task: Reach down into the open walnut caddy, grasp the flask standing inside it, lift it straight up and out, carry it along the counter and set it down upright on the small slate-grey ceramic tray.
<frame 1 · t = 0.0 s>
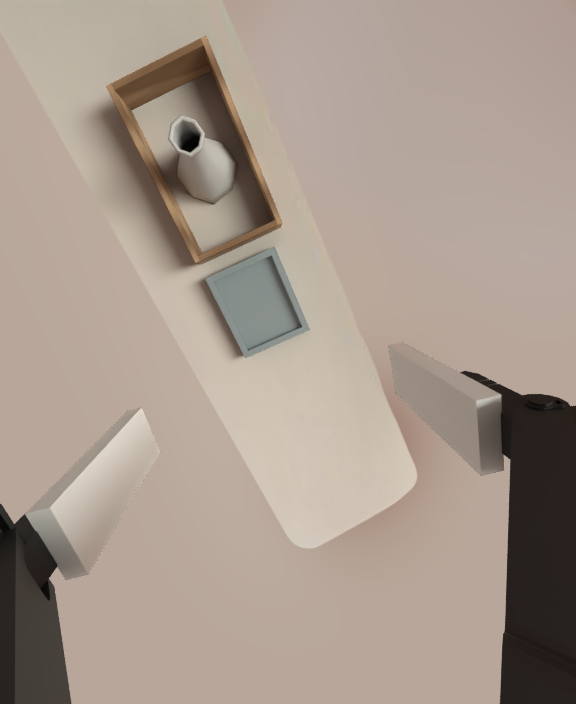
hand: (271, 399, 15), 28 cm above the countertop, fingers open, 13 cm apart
flask: (207, 171, 37), on the countertop
caddy: (207, 170, 37), on the countertop
tray: (259, 303, 42), on the countertop
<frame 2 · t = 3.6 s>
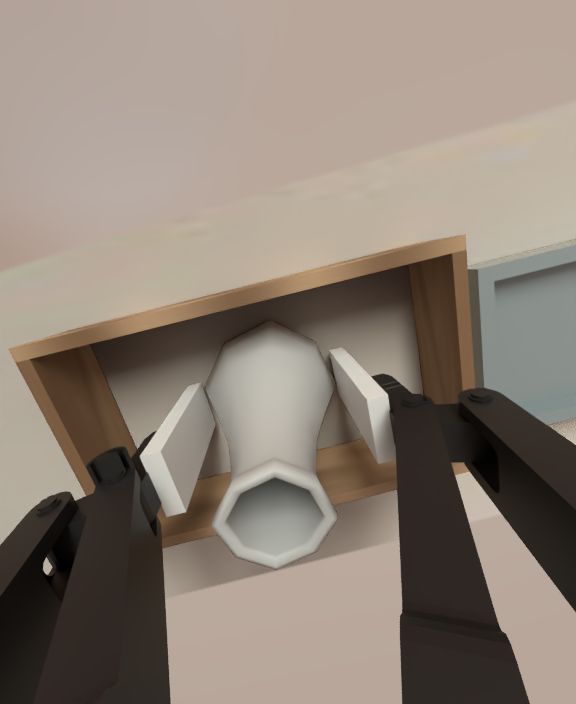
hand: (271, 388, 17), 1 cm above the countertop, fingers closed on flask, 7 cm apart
flask: (271, 382, 18), on the countertop, touching gripper
caddy: (271, 383, 17), on the countertop
tray: (558, 328, 18), on the countertop
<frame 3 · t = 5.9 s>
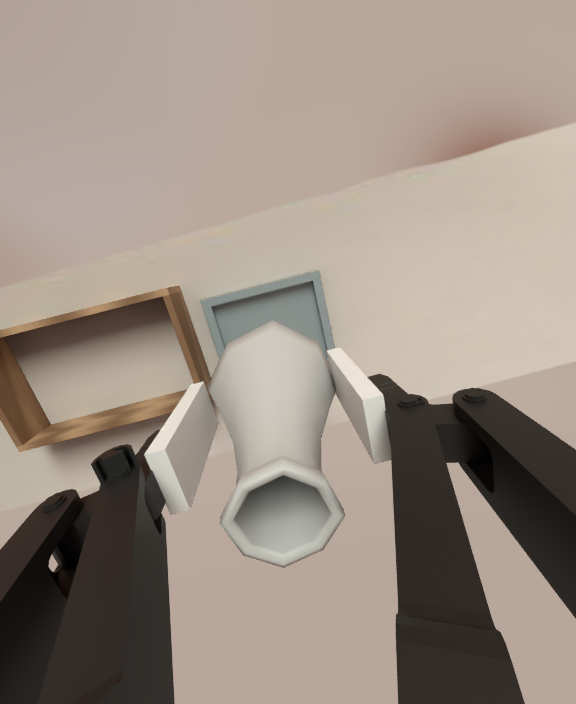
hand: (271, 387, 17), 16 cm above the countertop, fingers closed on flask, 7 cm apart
flask: (273, 382, 18), point 15 cm above the countertop, touching gripper
caddy: (110, 361, 31), on the countertop
tray: (272, 330, 32), on the countertop
when the fingers open (3 cm above the countertop, at t = 8.6 s): flask drops 1 cm, resting on tray.
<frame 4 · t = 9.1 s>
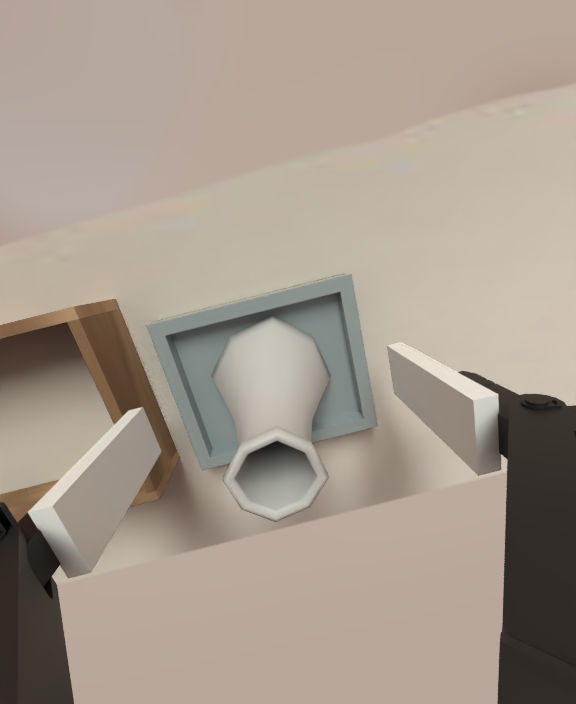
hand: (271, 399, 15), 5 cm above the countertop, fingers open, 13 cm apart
flask: (271, 373, 19), point 1 cm above the countertop, touching tray
caddy: (9, 419, 19), on the countertop
tray: (270, 370, 20), on the countertop
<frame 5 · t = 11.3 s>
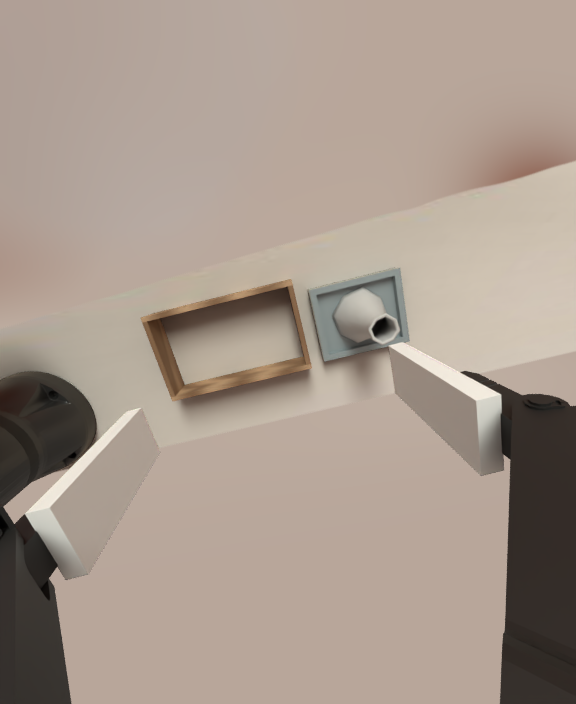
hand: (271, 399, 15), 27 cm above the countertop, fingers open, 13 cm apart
flask: (358, 315, 40), point 1 cm above the countertop, touching tray
caddy: (233, 336, 41), on the countertop
tray: (357, 314, 41), on the countertop
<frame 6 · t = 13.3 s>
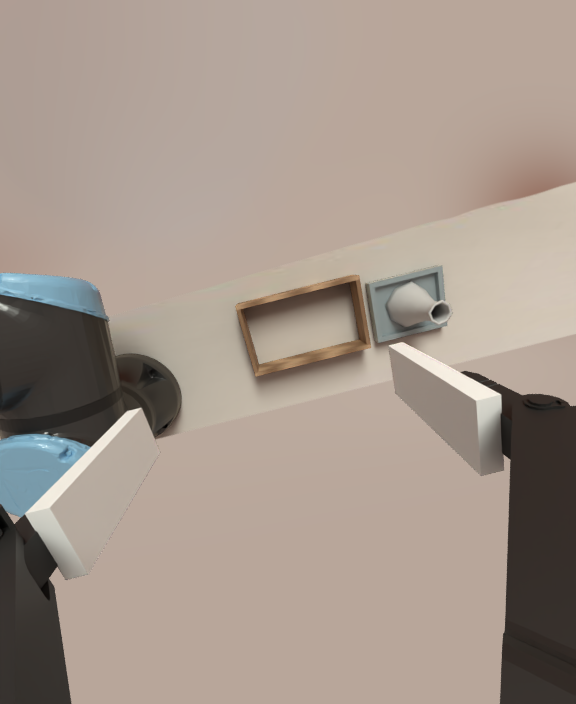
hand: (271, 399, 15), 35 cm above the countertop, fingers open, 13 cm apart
flask: (406, 304, 49), point 1 cm above the countertop, touching tray
caddy: (302, 323, 50), on the countertop
tray: (404, 304, 50), on the countertop
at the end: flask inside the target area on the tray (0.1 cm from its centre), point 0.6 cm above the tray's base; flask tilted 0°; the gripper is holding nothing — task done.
